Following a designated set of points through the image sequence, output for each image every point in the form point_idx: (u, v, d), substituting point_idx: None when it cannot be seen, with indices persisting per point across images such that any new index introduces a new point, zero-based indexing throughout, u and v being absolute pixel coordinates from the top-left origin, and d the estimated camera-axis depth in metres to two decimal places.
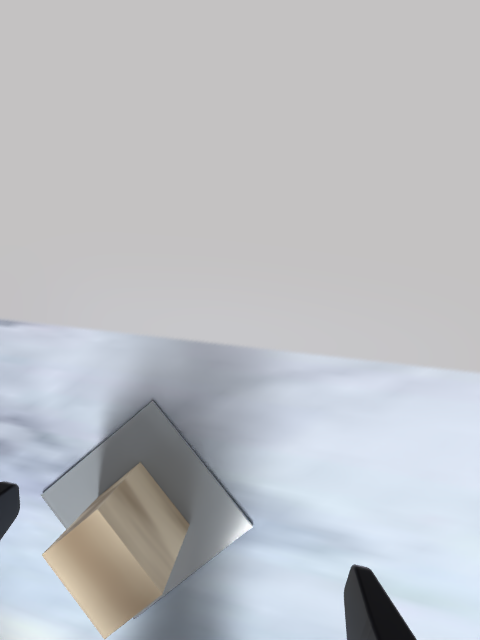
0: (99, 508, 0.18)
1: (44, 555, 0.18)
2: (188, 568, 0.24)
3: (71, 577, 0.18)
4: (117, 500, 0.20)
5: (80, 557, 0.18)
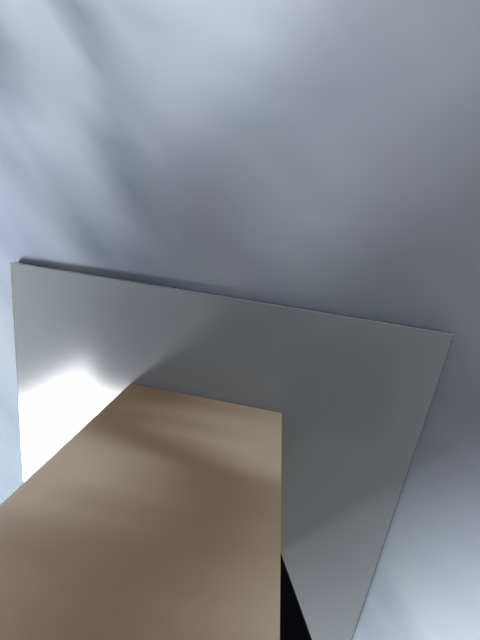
0: None
1: None
2: None
3: None
4: None
5: None
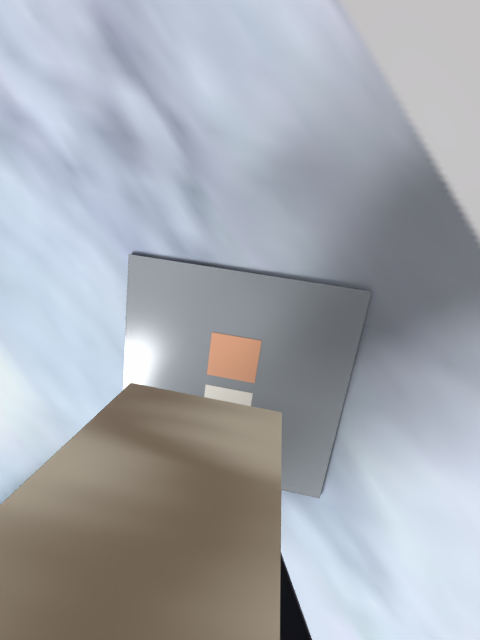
0: None
1: None
2: None
3: None
4: None
5: None
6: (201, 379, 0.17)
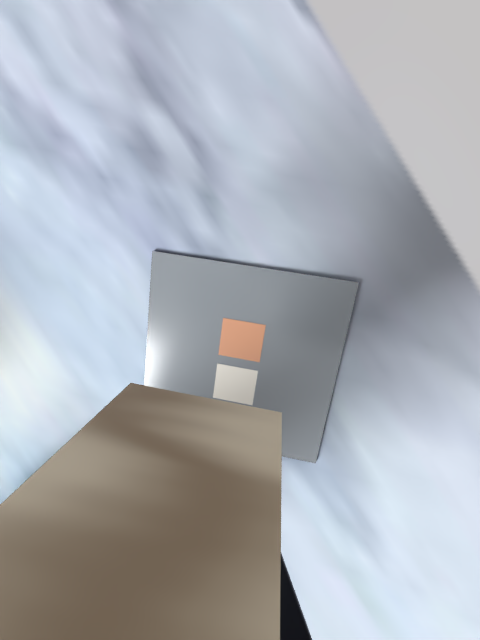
0: None
1: None
2: None
3: None
4: None
5: None
6: (213, 358, 0.20)
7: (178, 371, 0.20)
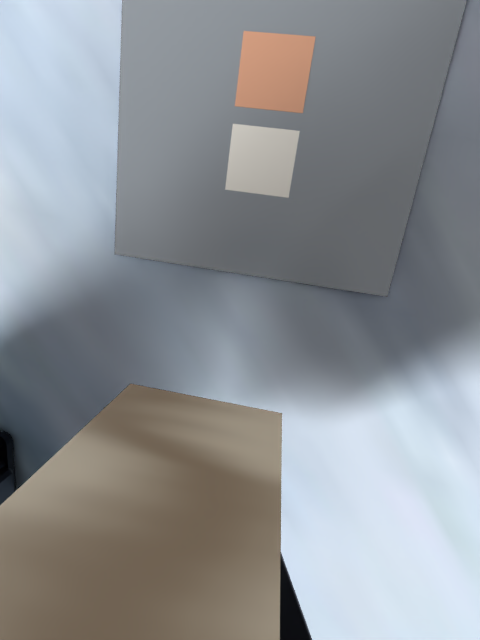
0: None
1: None
2: (247, 263, 0.13)
3: None
4: None
5: None
6: (227, 115, 0.12)
7: (170, 146, 0.13)
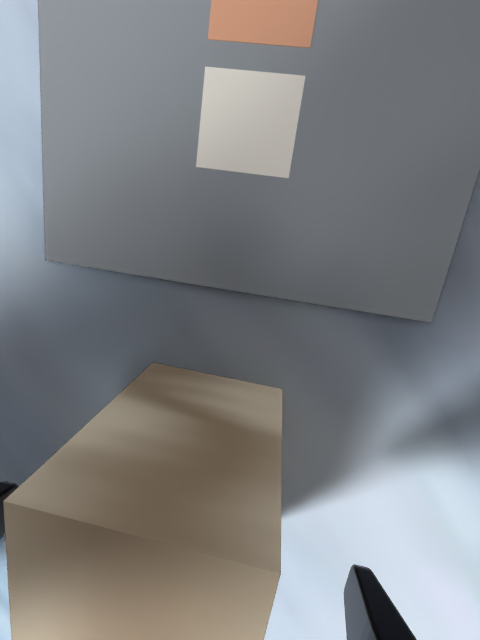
0: (279, 566, 0.05)
1: (10, 508, 0.05)
2: (229, 273, 0.09)
3: (43, 604, 0.05)
4: None
5: (109, 599, 0.05)
6: (197, 54, 0.08)
7: (115, 103, 0.09)
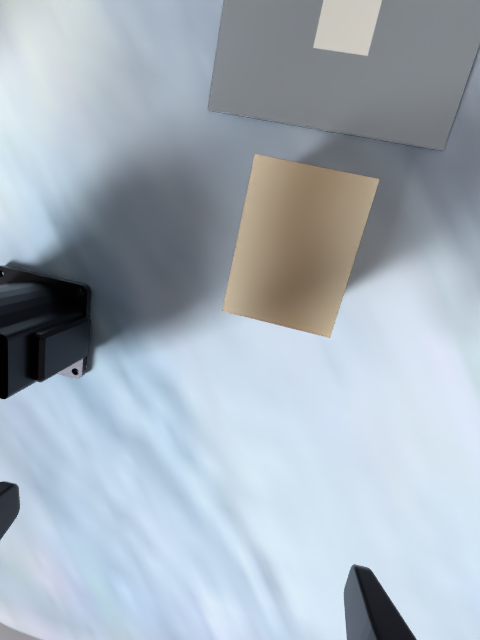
0: (377, 182, 0.11)
1: (257, 158, 0.11)
2: (324, 117, 0.16)
3: (259, 217, 0.12)
4: None
5: (294, 208, 0.12)
6: None
7: (269, 6, 0.15)
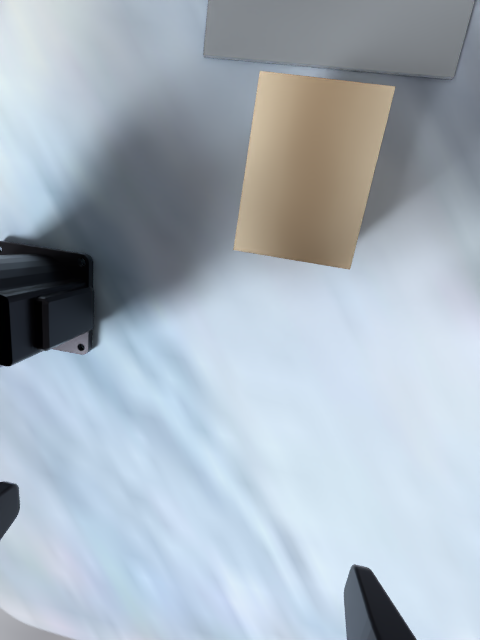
0: (393, 91, 0.10)
1: (262, 75, 0.11)
2: (326, 53, 0.15)
3: (268, 141, 0.11)
4: None
5: (305, 127, 0.11)
6: None
7: None
